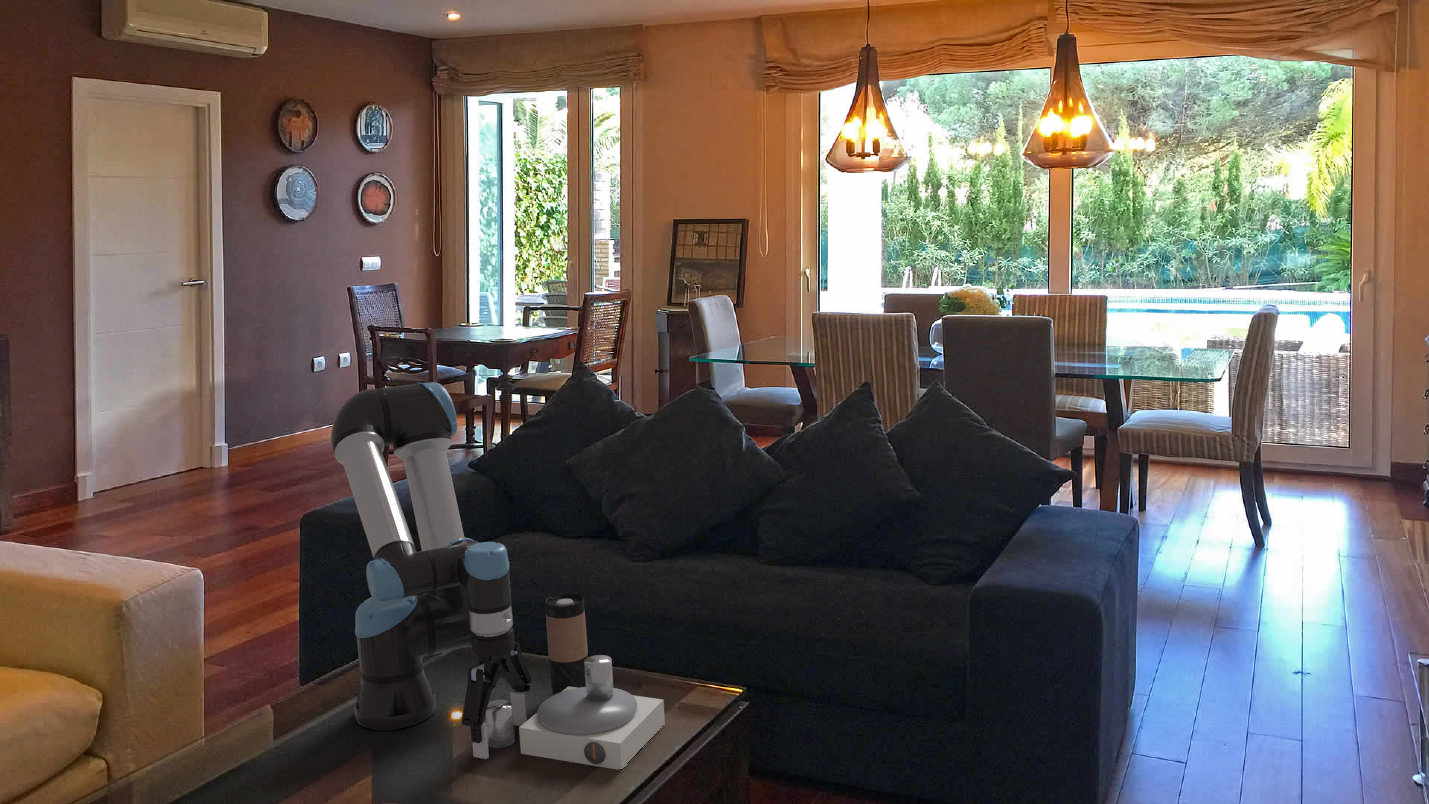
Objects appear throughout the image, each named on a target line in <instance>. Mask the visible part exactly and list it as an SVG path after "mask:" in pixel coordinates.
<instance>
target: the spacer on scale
mask: <svg viewBox="0 0 1429 804" xmlns="http://www.w3.org/2000/svg"><path fill="white" fill-rule="evenodd" d="M612 661H613V659H612V658H611V656H609V655H603V654H596V655H591V656H588V658H586V659H585V661H584V665H585V680H586V695H587V699H588V700H590V701H593V702H603V701H607V700H610V699H611V698H613V696H614V691H613V688H614V677H613V663H612Z"/></svg>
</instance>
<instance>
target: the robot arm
mask: <svg viewBox="0 0 1429 804" xmlns="http://www.w3.org/2000/svg"><path fill="white" fill-rule="evenodd" d="M454 405H455V404H454V402H453V400H452V398H451V395H450V393H449V392H448V391H447V389H446V388H445V387H444V386H443V385H442V384H441V383H439V382H432V381H431V382H416V383H410V384H403V385H395V386H389V387H388V386H387V387H380V388H379V387H378V388H368V389H364V390H362V391H359V392H356V393H355V394H354V395H352V396H351V397H349V398H348V399H347V400H346V401H345V402H344V403H343V404H342V406H341V407H340V409H339V410H338V412H337V414H336V416H335V418H334V420H333V424H332V428H331V433H330V441H331V448H332V451H333V455H334V458H335V461H336V462H338V463H339V465H342V466H343V468H344V472H345V474H346V477H347V481H348V483H349V487H350V489H351V493H352V496H353V499H354V502H355V505H356V507H357V508H356V509H357V511H358V514H359V518H360V521H361V523H362V527H363V530H364V533H365V536H366V539H367V542H368V545H369V549H370V551H371V554H372V558H373V560H370V561H369V562H368V563H367V564H366V573H365V574H366V581H367V586H368V591H369V593H370V595H371V597H369V598H367V599H365V600H364V601H363V602H362V603H361V604H359V606H358V607H357V609H356V611H355V618H354V619H355V623H354V624H355V629H354V634H355V636H356V641H357V642H356V644H357V651H358V652H357V653H358V662H359V670H360V671H359V672H360V684H359V689H358V692H357V697H356V701H355V705H354V717H356V719H355V721H356V720H357V721H358V722H359V723H360V724H361V725H363V726H364V727H366V728H365V729H367V728H369V729H368V730H371V729H372V731H393V730H395V731H396V730H399V729H400V730H401V729H405V728H409V727H412V726H416V725H418V724H420V723H422V722H425V721H426V720H428V719H429V718H431V717H432V716H433V715H434V713H435V712H436V709H437V703H436V695H435V692H434V691H433V690H432V688H431V686H430V682H429V681H428V678H427V676H426V674H425V672H424V664H423V663H424V662H423V658H424V657H429V656H433V655H437V654H442V653H445V652H450V651H455V650H459V649H463V648H471V650H472V652H473V654H475V656H477V658H478V662H477V666H476V667H474V668H473V667H469V668H468V669H467V685H466V692H465V697H464V704H463V710H462V717H461V725H462V726H466V727H470V738H471V743H472V751H473V753H472V754H473V757H474V758H477V759H478V758H479V759H483V760H487V759H489V757H490V755H489V746H488V739H487V727H486V723H485V714H486V710H487V706H488V703H489V702H490V699H491V695H492V691H493V689H495V688H496V687H497V682H499V680H501V678H503V679H504V680H505V682H506V683H507V684H508V685H509V686H510V687H511V689H512V690H511V691H510V692H509V697H510V702H511V703H512V709H513V722H514V726H518V727H520V726H521V725H523V724H524V723H525V722H526V721H527V720H528V719H527V707H526V704H527V703H526V692H530V691H531V685H530V684H531V683H532V677H531V674H530V672H529V669H528V668H527V664H526V662H525V659H524V657H523V654H522V652H521V650H522V649H521V644H520V643H519V642H515V632H514V630H515V629H514V628H513V625H514V621H513V617H514V616H513V612H512V610H513V609H512V595H511V594H512V593H511V581H510V580H511V579H510V561H509V557H508V550H507V547H506V546H505V545H504V544H503V543H500V542H495V541H484V542H483V541H482V542H479V541H476V540H473V539H472V538H469V537H465V535H464V534H465V533H464V530H463V524H462V520H461V516H460V510H459V506H458V502H457V496H456V492H455V487H454V482H453V477H452V472H451V467H450V464H449V459H448V455H447V452H448V450H449V448H450V447H451V446H452V443H453V441H452V437H453V436H455V435H456V434H457V431H458V421H457V418H458V417H457V413H456V408H455V406H454ZM385 446H392V450H393V455H394V456H395V457H397V458H398V459H400V460H402V461H403V465H404V469H405V475H406V480H407V483H408V489H409V493H410V499H411V503H412V509H413V513H414V517H415V518H414V519H415V523H416V529H417V533H418V539H419V545H420V547H421V550H420V551H417V550H416V546H415V543H414V540H413V538H412V534H411V532H410V529H409V526H408V523H407V521H406V517H405V515H404V511H403V509H402V506H401V503H400V501H399V497H398V494H397V490H396V489H395V485H394V483H393V480H392V477H391V475H390V471H389V469H388V466H387V463H386V460H385V457H384V454H383V452H384V451H385V450H384V449H385ZM484 680H485V681H484ZM364 727H363V728H364Z"/></svg>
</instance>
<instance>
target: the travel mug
mask: <svg viewBox="0 0 1429 804" xmlns="http://www.w3.org/2000/svg"><path fill="white" fill-rule="evenodd" d="M544 604H545V620H546V635H547V637H546V638H547V652H548V653H547V656H548V663H549V665H548V667H549V673H550V684H551V685H550V686H551V692H552V696H553V695H555V694H558V693H560V692H562V691H563V690H564V689H566V688H567V687H568V686H569V687H576V688H581V687H586V680H585V665H584V661H585V659H586V658H588V657H589V655H588V654H589V652H588V637H587V627H586V626H587V624H586V613H585V612H586V610H585V599H584V596H583V595H581V594H578V593H574V592H565V593H561V595H560V596H557V597H552V596H548V598H546V599H545V603H544Z"/></svg>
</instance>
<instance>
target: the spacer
mask: <svg viewBox="0 0 1429 804" xmlns="http://www.w3.org/2000/svg"><path fill="white" fill-rule="evenodd" d="M484 723H486V727H487V739H488V748H489V747H490V748H493V749H503V748H506V747H509V746H512V745H513V744H515V741H516V738H515V737H516V736H515V727H514V726H515V725H514V722H513V709H512V703H511V700H507V699H496V700H492V701H489V703H488V706H487V710H486V714H485V717H484Z"/></svg>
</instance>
